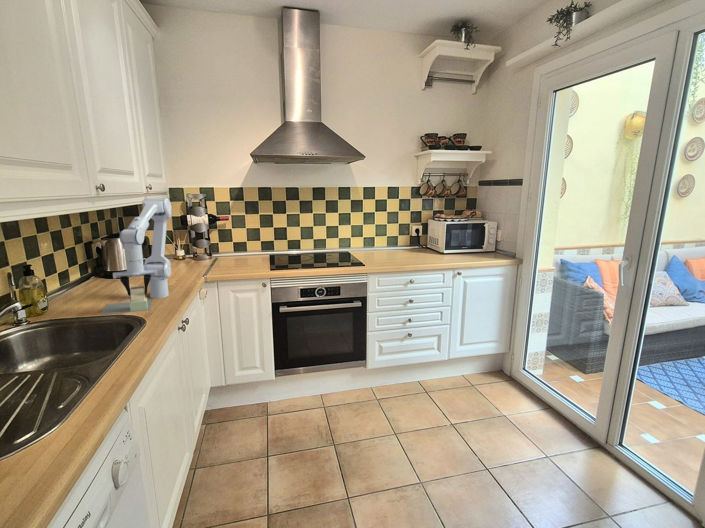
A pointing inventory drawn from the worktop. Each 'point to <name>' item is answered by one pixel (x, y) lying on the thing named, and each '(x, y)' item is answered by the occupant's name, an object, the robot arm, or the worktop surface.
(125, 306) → the build plate
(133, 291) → the cream block
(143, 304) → the base block
